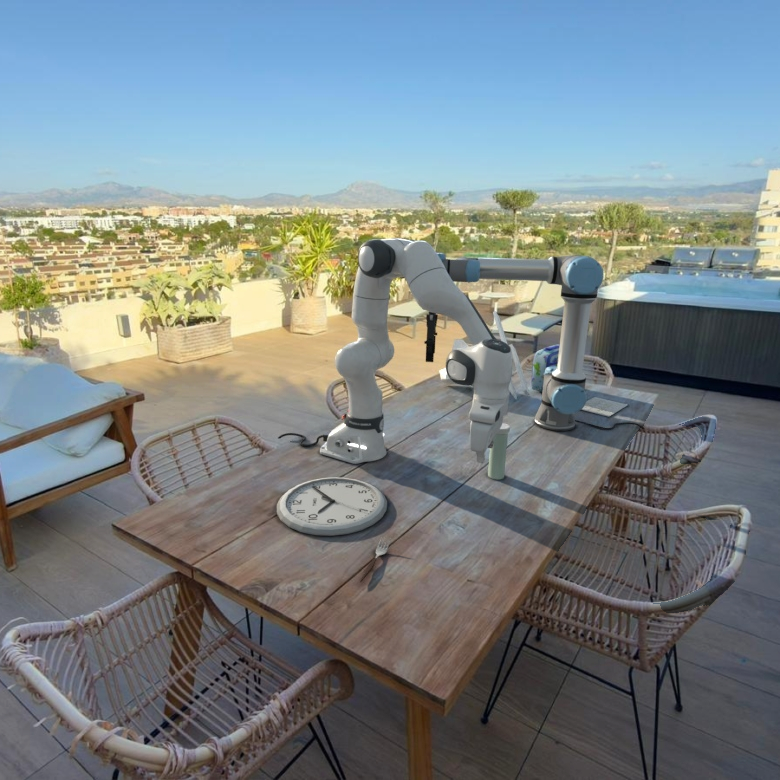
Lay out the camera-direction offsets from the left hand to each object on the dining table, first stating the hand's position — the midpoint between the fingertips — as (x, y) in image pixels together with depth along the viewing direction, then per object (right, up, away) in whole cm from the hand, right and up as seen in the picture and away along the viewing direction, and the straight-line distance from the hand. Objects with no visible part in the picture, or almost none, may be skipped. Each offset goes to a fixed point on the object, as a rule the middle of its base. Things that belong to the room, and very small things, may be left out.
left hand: (485, 454), depth 136 cm
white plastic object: (+17, +16, +107) cm, 109 cm away
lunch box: (+52, +17, +114) cm, 126 cm away
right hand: (-10, +29, +53) cm, 61 cm away
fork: (-28, -23, -18) cm, 41 cm away
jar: (+8, -10, +25) cm, 28 cm away
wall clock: (-41, -15, +7) cm, 44 cm away
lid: (+8, +6, +21) cm, 23 cm away
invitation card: (+67, +9, +90) cm, 112 cm away
